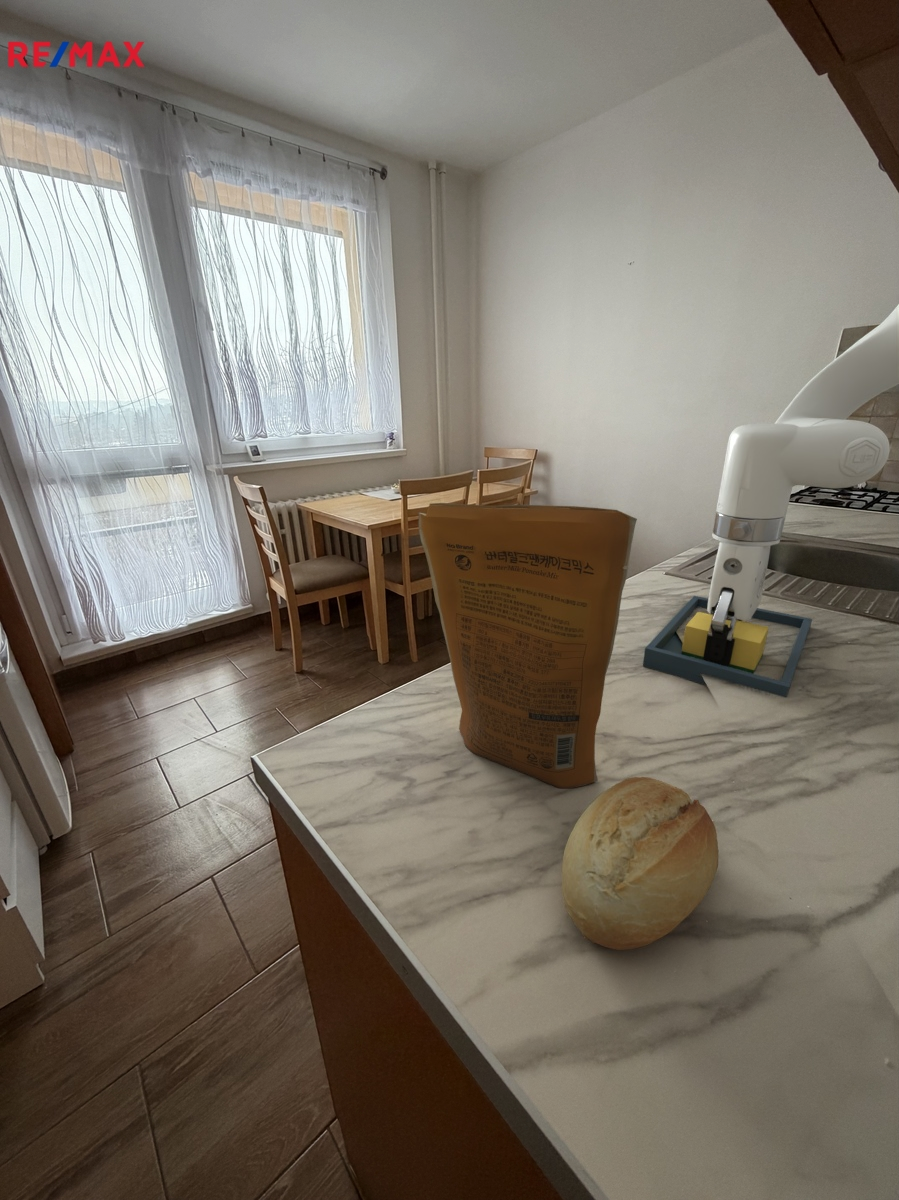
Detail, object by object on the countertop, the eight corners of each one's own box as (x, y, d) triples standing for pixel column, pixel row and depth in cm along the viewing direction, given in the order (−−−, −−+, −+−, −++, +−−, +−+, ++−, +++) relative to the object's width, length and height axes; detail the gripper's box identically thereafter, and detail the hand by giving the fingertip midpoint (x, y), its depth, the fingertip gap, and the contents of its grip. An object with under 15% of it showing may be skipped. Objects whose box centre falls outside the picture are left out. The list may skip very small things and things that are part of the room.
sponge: (693, 641, 73) (698, 611, 71) (761, 659, 68) (769, 626, 66) (680, 657, 69) (685, 625, 67) (752, 677, 63) (760, 643, 61)
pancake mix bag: (596, 818, 44) (625, 517, 34) (428, 748, 54) (411, 499, 44) (617, 773, 49) (648, 500, 39) (460, 716, 60) (451, 487, 49)
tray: (691, 611, 86) (694, 595, 85) (807, 636, 75) (812, 618, 74) (642, 666, 69) (644, 647, 68) (783, 708, 59) (789, 687, 57)
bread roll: (734, 858, 40) (753, 783, 37) (658, 1010, 30) (676, 925, 27) (624, 798, 46) (633, 730, 43) (532, 909, 37) (535, 831, 34)
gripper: (769, 548, 53) (738, 688, 60) (792, 517, 65) (764, 637, 72) (695, 538, 57) (674, 670, 64) (730, 511, 69) (709, 625, 76)
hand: (722, 651), depth 68 cm, fingers closed on sponge, 6 cm apart
